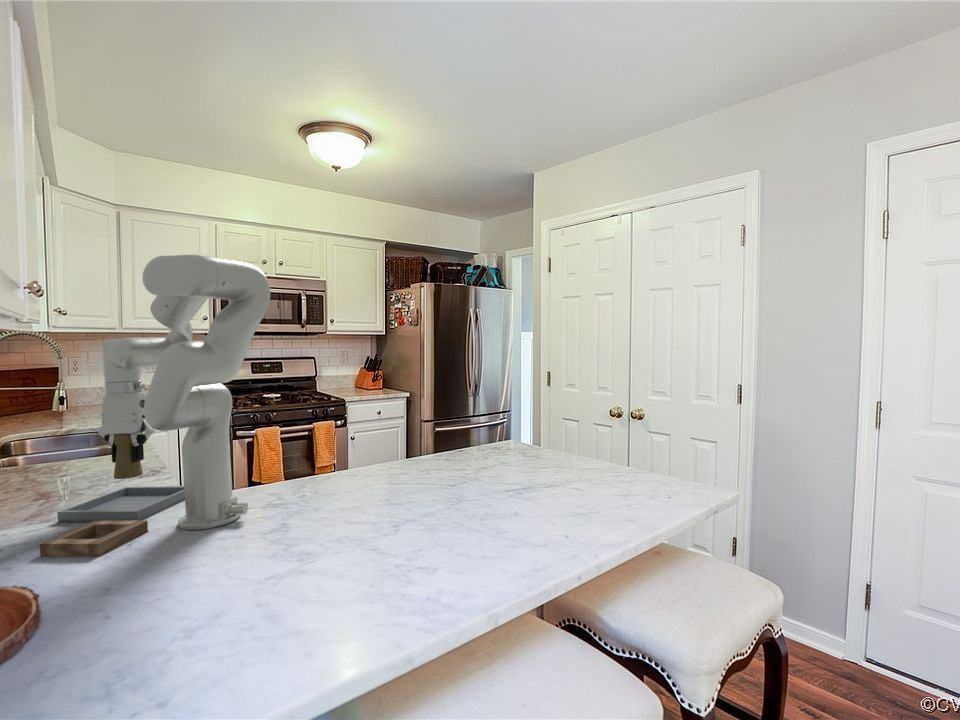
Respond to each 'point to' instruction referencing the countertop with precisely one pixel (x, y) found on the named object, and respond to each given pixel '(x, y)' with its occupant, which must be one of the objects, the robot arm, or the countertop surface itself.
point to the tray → (124, 505)
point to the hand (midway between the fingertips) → (128, 460)
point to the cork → (125, 458)
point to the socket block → (82, 545)
